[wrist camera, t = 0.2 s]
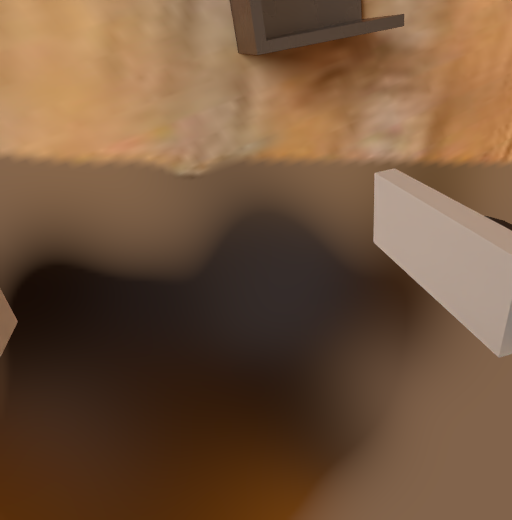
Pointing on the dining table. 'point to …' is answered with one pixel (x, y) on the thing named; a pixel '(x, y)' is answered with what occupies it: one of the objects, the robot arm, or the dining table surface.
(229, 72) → the dining table surface
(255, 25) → the bottle rest
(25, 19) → the dining table surface
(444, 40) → the dining table surface
